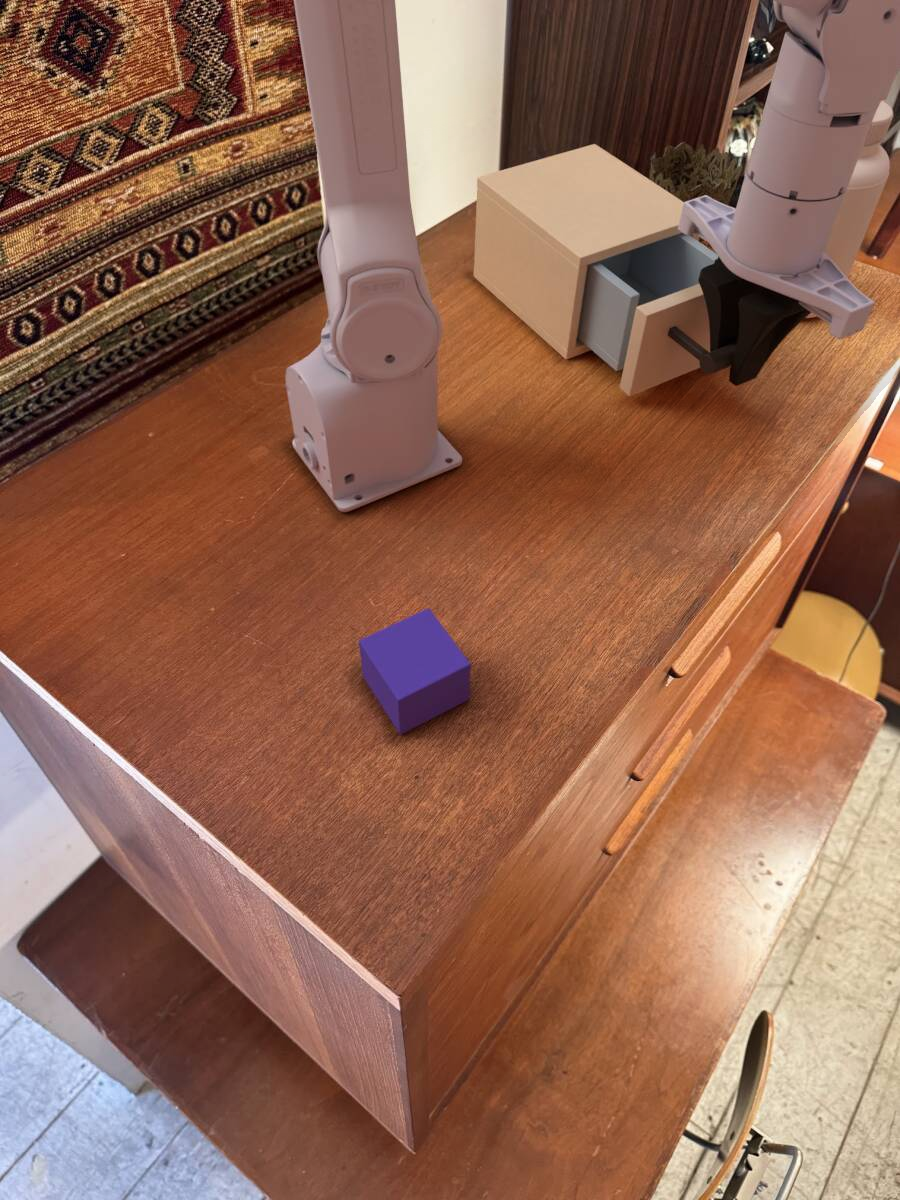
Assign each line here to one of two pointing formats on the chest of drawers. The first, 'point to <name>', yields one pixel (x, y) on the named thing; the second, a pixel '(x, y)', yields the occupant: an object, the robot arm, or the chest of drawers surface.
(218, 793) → the chest of drawers surface
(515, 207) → the drawer cabinet
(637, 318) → the drawer
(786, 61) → the robot arm
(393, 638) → the violet cube
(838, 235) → the pill bottle
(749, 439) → the chest of drawers surface
